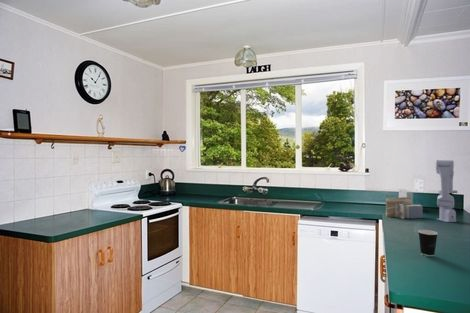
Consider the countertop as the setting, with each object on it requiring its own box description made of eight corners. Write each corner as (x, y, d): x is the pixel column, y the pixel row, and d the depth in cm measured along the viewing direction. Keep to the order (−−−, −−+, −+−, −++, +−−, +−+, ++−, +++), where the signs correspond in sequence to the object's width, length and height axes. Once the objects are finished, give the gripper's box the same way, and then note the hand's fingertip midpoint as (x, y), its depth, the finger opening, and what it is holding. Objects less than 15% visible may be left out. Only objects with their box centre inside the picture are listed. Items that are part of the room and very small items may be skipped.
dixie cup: (419, 251, 149) (420, 228, 149) (439, 255, 143) (439, 231, 143) (415, 255, 143) (415, 231, 143) (435, 259, 138) (436, 235, 137)
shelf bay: (418, 218, 226) (418, 199, 226) (394, 219, 222) (394, 199, 222) (409, 215, 235) (409, 197, 235) (385, 216, 232) (385, 197, 231)
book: (422, 217, 228) (422, 205, 228) (408, 218, 226) (408, 206, 226) (418, 216, 232) (418, 204, 232) (404, 217, 230) (404, 205, 230)
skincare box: (413, 211, 253) (413, 192, 253) (406, 211, 254) (406, 191, 254) (404, 207, 274) (404, 189, 274) (397, 206, 275) (398, 188, 275)
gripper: (451, 184, 236) (451, 201, 236) (435, 184, 233) (435, 202, 233) (459, 185, 229) (459, 203, 229) (443, 185, 226) (443, 203, 226)
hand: (447, 203), depth 231 cm, fingers closed
